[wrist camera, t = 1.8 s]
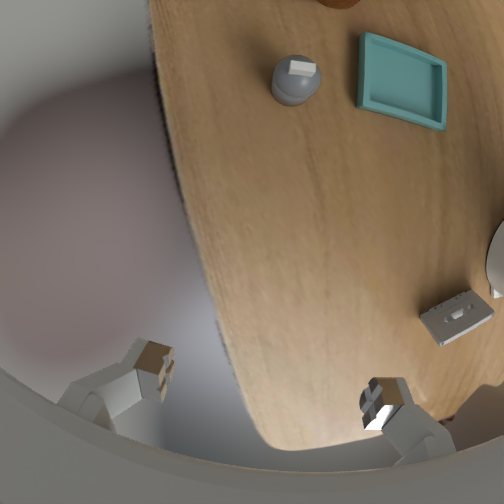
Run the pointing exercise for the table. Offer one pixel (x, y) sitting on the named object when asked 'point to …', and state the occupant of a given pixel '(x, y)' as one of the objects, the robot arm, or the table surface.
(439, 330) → the cassette
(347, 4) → the disposable coffee cup
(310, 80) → the gray bottle
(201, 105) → the table surface
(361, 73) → the tray
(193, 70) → the table surface
